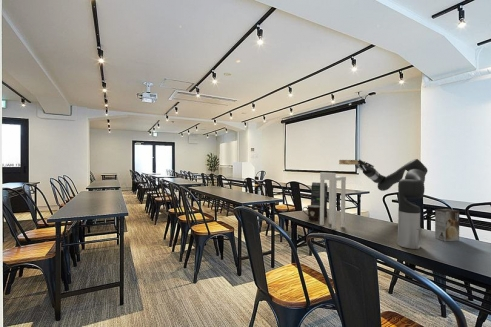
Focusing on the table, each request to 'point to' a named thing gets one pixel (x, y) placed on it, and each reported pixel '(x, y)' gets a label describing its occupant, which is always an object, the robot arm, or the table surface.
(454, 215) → the coffee box
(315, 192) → the headset box
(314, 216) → the coffee mug
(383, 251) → the table surface
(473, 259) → the table surface
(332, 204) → the white stand
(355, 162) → the oak paddle
